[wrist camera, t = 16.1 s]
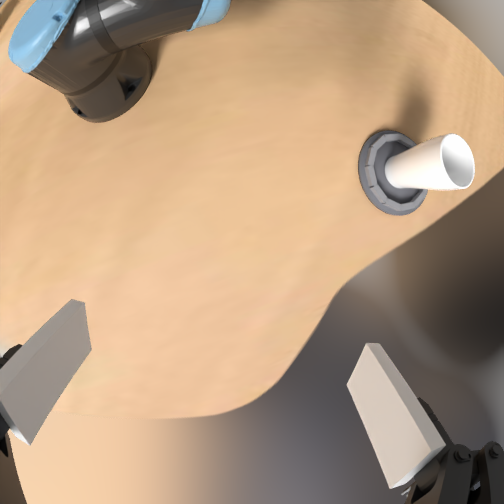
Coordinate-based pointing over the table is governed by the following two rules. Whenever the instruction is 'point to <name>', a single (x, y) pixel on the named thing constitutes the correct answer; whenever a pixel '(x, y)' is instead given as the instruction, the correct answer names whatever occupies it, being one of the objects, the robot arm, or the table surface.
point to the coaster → (375, 178)
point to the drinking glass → (433, 165)
